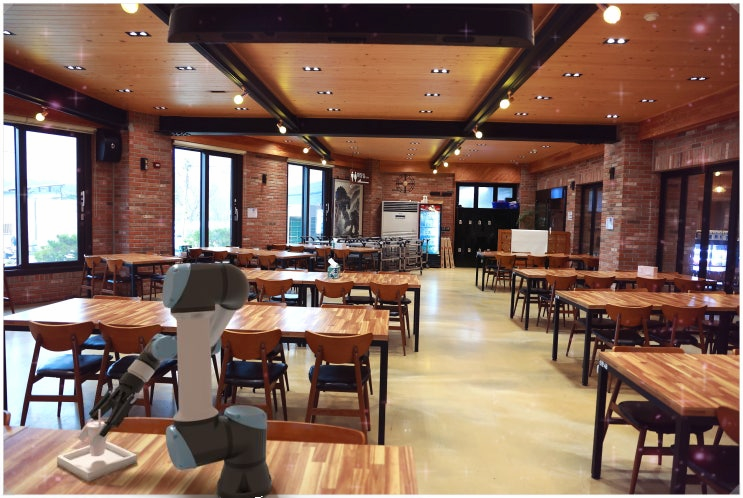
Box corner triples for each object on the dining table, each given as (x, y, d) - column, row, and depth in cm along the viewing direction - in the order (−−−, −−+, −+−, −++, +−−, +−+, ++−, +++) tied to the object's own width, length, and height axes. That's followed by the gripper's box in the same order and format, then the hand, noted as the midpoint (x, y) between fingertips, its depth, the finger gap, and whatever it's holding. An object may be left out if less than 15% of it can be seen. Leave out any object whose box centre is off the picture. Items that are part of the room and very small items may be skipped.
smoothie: (99, 459, 155) (99, 414, 154) (80, 457, 156) (81, 411, 156) (113, 450, 161) (114, 406, 161) (96, 448, 163) (96, 404, 162)
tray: (136, 462, 160) (136, 454, 160) (88, 481, 148) (88, 473, 147) (105, 447, 170) (105, 440, 170) (57, 463, 157) (57, 456, 157)
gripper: (161, 389, 166) (111, 456, 153) (127, 377, 176) (78, 440, 163) (146, 376, 161) (94, 445, 148) (112, 365, 171) (60, 429, 158)
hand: (85, 442), depth 156 cm, fingers closed on smoothie, 6 cm apart
